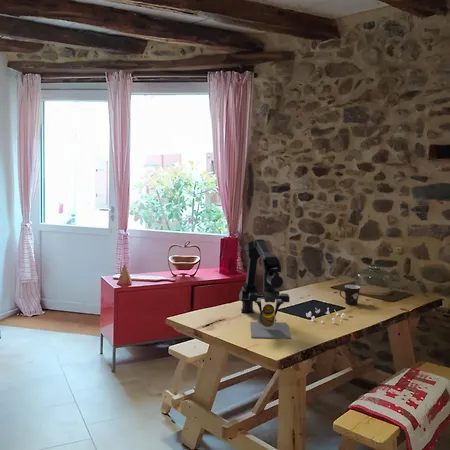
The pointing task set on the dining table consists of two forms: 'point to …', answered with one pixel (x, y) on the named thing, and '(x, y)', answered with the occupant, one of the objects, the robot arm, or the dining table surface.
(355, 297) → the coffee mug
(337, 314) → the game piece set
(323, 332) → the dining table surface
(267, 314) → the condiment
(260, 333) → the rubber mat
